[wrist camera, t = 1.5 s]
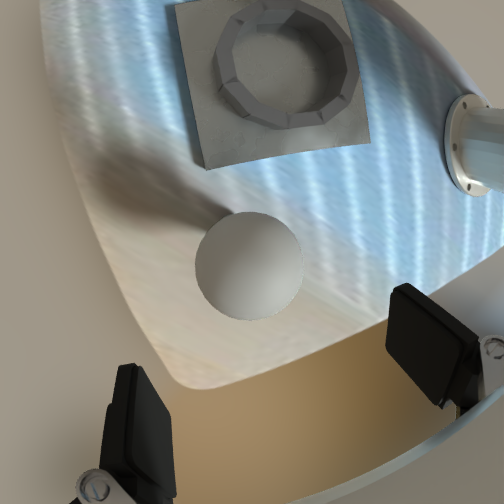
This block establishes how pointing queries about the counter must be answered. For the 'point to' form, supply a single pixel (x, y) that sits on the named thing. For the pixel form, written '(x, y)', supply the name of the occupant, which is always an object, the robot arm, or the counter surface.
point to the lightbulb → (249, 266)
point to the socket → (326, 37)
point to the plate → (262, 84)
